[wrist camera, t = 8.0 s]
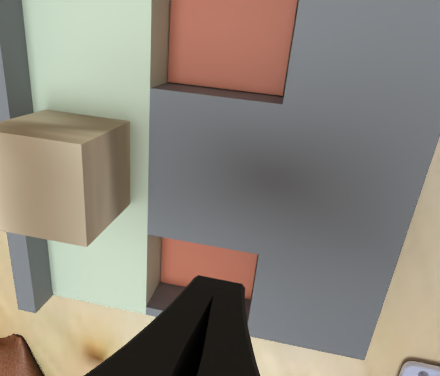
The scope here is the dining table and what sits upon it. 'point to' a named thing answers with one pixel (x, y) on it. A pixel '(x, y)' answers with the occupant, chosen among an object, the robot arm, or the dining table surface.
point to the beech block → (63, 175)
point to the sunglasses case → (17, 358)
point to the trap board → (238, 151)
